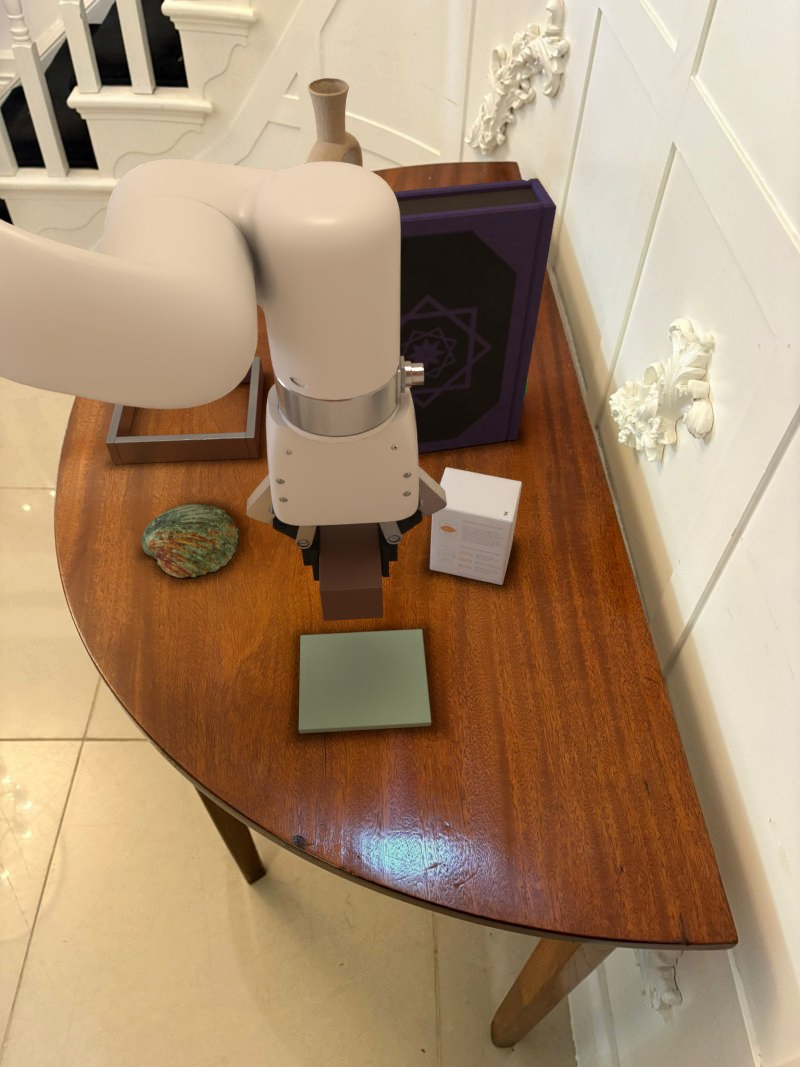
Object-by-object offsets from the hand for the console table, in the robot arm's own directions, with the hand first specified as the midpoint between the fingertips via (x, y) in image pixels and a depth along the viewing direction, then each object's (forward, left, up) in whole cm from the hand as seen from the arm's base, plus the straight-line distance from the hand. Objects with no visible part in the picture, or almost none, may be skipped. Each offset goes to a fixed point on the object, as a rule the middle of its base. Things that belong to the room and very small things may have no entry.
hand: (351, 562), depth 61 cm
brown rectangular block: (0, 0, -1) cm, 1 cm away
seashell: (-18, +17, -18) cm, 30 cm away
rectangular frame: (-20, +37, -17) cm, 45 cm away
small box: (+12, +13, -18) cm, 25 cm away
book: (+8, +32, -18) cm, 37 cm away
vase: (-1, +59, -18) cm, 62 cm away
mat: (0, -1, -17) cm, 17 cm away
